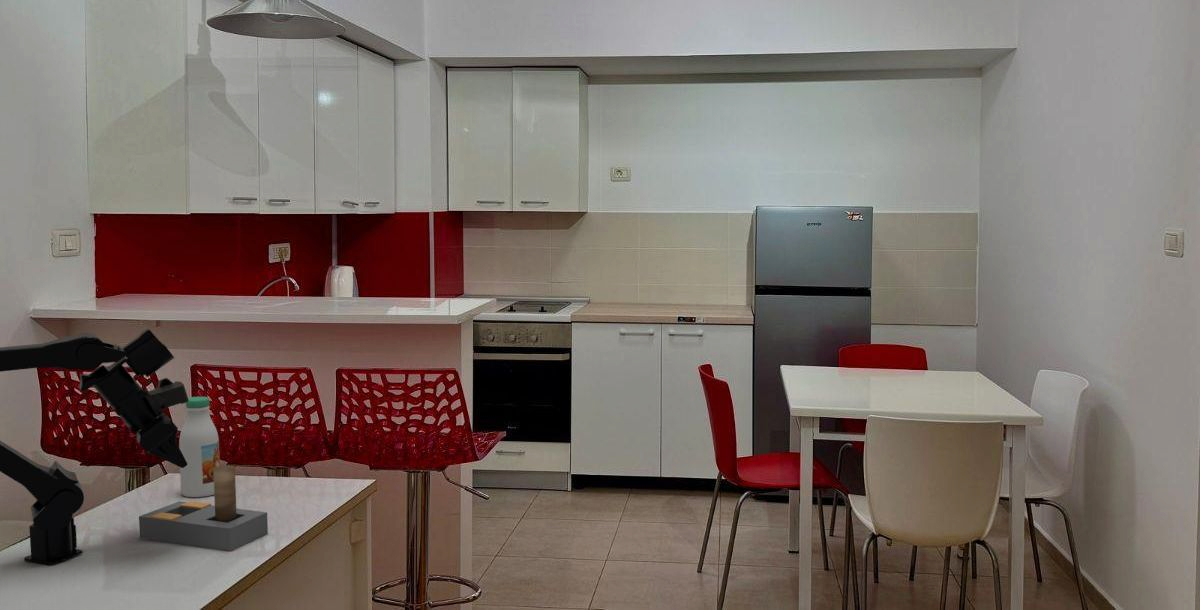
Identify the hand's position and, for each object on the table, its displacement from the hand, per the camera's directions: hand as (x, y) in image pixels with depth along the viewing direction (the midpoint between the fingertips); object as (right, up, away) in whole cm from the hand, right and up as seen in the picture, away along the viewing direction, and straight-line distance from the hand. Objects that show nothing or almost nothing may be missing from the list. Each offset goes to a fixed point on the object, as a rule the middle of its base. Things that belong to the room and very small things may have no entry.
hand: (180, 460), depth 184 cm
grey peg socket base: (+3, -14, +2) cm, 15 cm away
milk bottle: (-8, -11, +29) cm, 33 cm away
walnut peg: (+8, -14, 0) cm, 16 cm away
